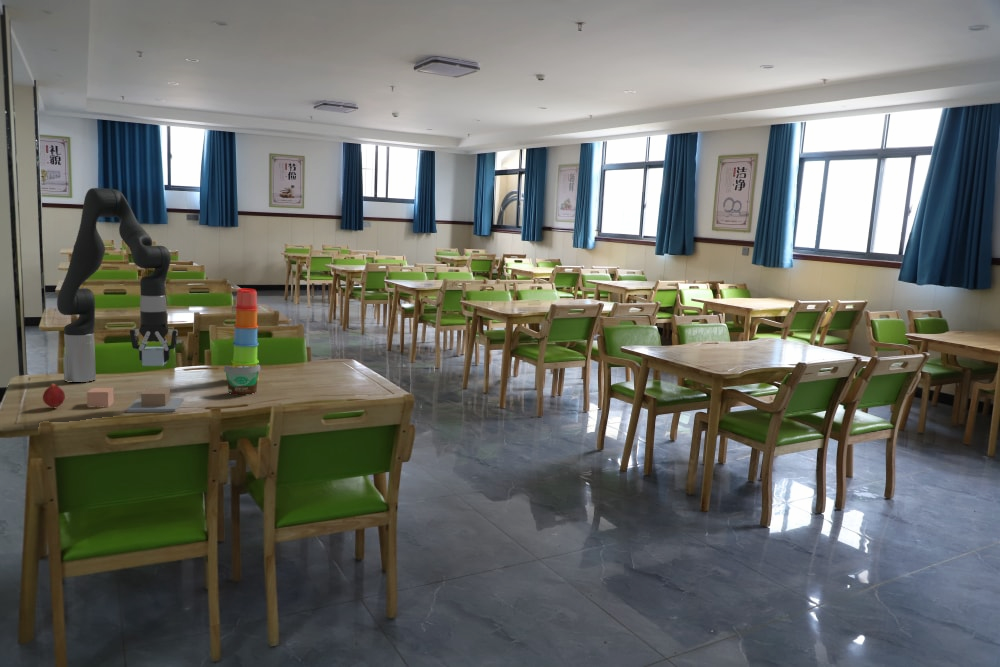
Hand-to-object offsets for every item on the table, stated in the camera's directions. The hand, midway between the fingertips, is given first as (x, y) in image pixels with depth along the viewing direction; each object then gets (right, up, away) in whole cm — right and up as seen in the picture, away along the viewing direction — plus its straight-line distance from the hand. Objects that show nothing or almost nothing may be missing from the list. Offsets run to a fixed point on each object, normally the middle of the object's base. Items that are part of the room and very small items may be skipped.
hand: (154, 361), depth 233 cm
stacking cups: (+13, -9, +44) cm, 47 cm away
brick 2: (0, -1, 0) cm, 1 cm away
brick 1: (-18, -14, +1) cm, 23 cm away
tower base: (-1, -14, +2) cm, 15 cm away
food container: (+20, -12, +23) cm, 33 cm away
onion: (-29, -15, -5) cm, 33 cm away
